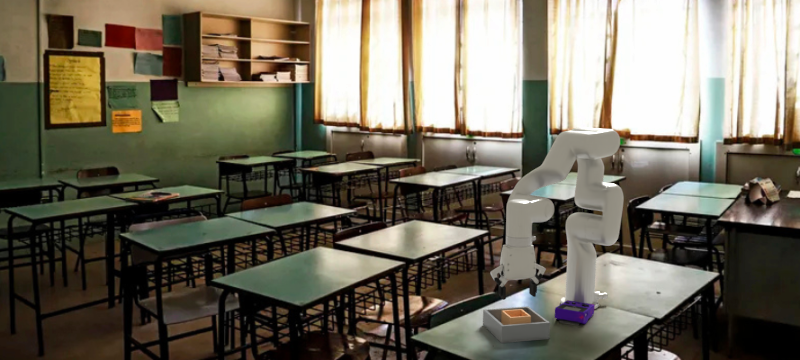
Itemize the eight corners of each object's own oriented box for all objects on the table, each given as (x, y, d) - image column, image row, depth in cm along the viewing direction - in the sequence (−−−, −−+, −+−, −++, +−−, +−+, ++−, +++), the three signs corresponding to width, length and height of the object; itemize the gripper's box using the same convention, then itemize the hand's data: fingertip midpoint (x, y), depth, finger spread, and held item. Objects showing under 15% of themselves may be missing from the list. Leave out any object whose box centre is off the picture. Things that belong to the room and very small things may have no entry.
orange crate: (521, 324, 208) (521, 309, 207) (530, 332, 201) (531, 316, 200) (501, 326, 206) (501, 310, 205) (509, 334, 200) (510, 317, 199)
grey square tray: (527, 321, 213) (528, 306, 212) (549, 338, 198) (549, 322, 198) (482, 325, 209) (483, 309, 208) (501, 343, 195) (502, 326, 194)
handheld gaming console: (595, 303, 221) (584, 311, 208) (594, 319, 222) (583, 327, 208) (567, 298, 226) (554, 306, 213) (565, 314, 226) (553, 322, 213)
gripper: (540, 236, 206) (538, 290, 208) (486, 240, 202) (485, 295, 204) (551, 242, 198) (549, 298, 201) (496, 246, 194) (495, 303, 197)
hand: (517, 296), depth 203 cm, fingers open, 9 cm apart
